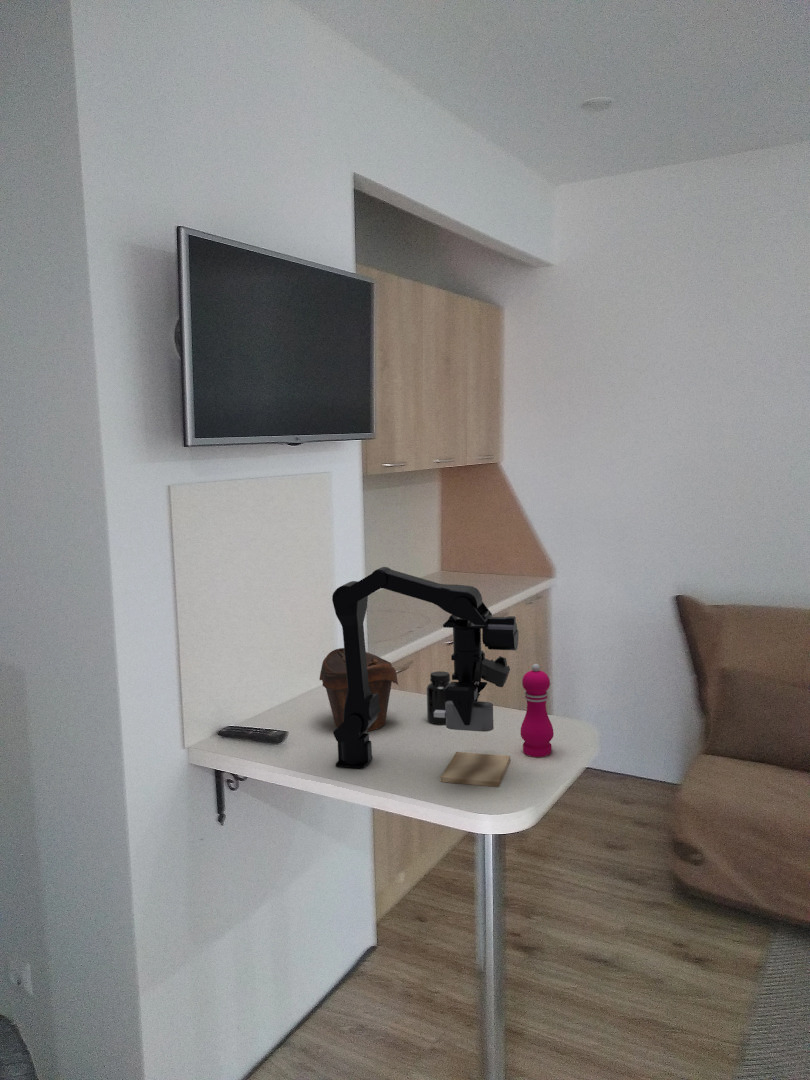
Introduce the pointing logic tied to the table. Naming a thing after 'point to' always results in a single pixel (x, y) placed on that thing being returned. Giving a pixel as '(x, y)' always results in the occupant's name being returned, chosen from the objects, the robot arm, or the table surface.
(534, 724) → the pepper mill
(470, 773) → the cork mat
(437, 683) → the supplement bottle
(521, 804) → the table surface
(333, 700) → the brown tapered rounded piece
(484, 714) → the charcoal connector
